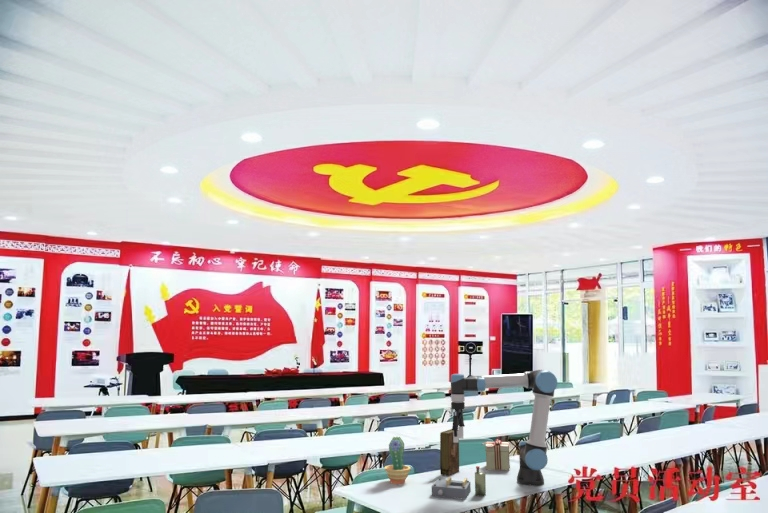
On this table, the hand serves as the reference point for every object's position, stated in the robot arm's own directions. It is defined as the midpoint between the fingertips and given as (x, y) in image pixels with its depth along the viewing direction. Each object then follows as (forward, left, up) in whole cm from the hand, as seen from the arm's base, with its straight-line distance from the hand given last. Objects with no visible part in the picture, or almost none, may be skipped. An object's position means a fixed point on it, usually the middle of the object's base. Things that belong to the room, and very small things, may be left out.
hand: (458, 440), depth 319 cm
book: (+11, -31, -25) cm, 42 cm away
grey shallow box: (+2, +16, -25) cm, 30 cm away
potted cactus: (+36, 0, -25) cm, 44 cm away
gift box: (-14, -55, -25) cm, 63 cm away
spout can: (-13, +12, -25) cm, 31 cm away
